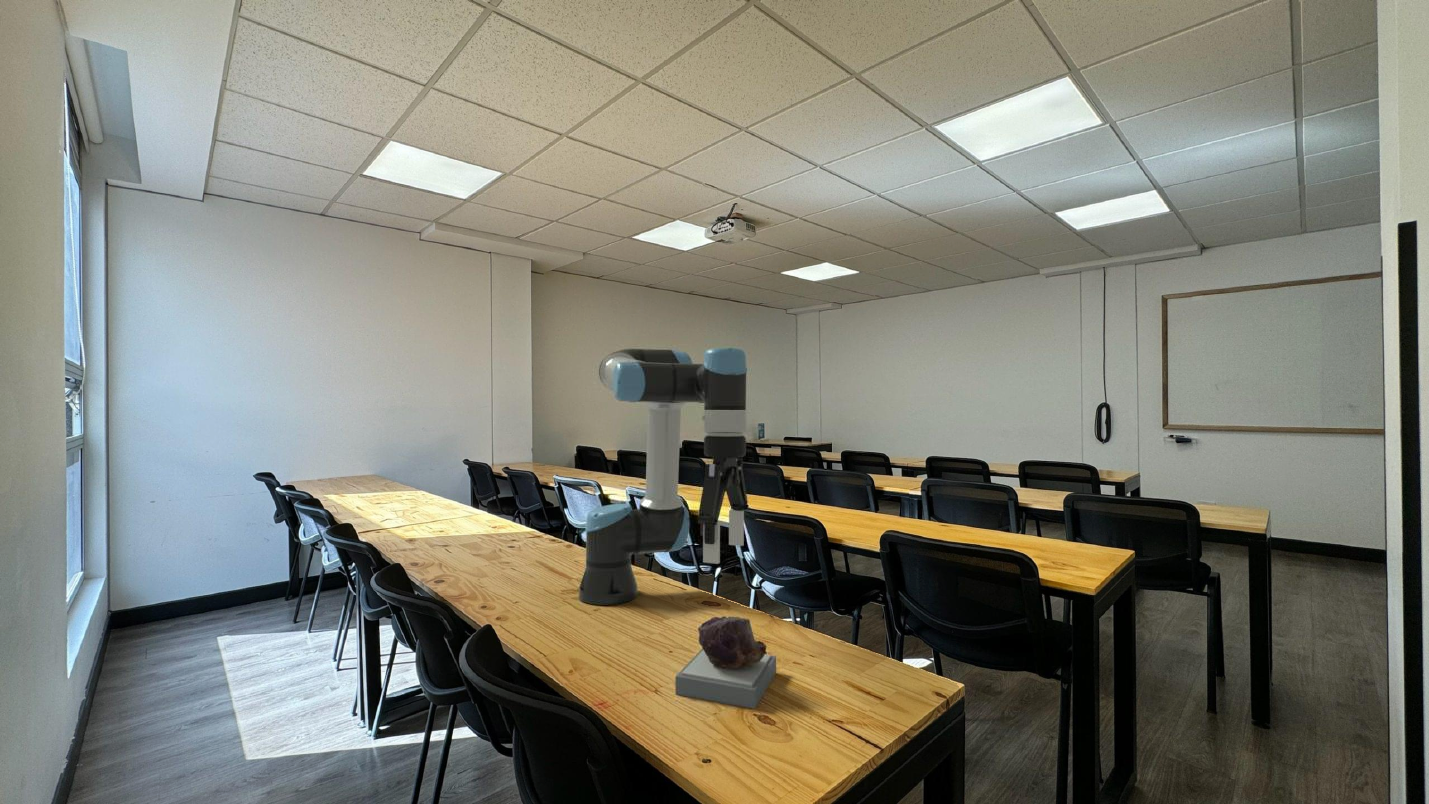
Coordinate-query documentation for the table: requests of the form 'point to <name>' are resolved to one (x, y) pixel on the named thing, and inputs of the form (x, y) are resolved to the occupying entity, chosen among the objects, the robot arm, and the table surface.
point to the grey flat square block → (726, 681)
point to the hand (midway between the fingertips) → (724, 553)
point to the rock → (730, 642)
